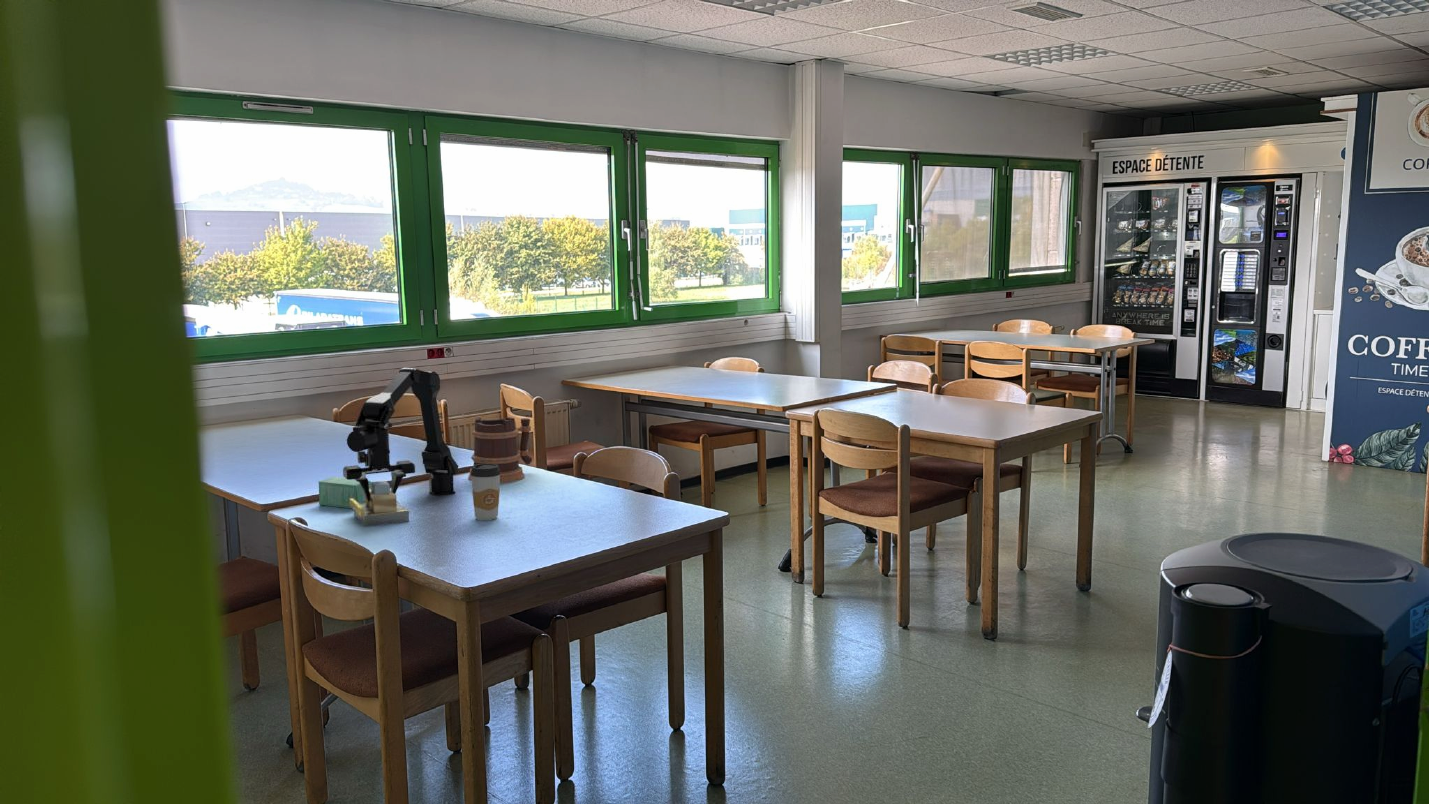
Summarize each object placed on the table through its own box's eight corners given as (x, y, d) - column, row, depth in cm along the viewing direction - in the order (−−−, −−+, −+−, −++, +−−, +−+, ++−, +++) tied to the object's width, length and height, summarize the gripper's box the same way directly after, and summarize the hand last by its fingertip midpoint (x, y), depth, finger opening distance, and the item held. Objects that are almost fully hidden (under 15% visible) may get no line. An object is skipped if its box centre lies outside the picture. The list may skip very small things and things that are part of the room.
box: (357, 509, 305) (356, 484, 304) (318, 506, 309) (317, 481, 308) (372, 504, 312) (372, 479, 311) (334, 500, 316) (333, 476, 315)
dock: (396, 510, 305) (395, 493, 304) (409, 521, 293) (408, 503, 292) (350, 515, 298) (349, 498, 297) (361, 527, 286) (360, 509, 286)
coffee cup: (475, 523, 292) (474, 470, 289) (468, 516, 299) (466, 464, 297) (505, 519, 295) (504, 467, 293) (496, 513, 303) (495, 462, 300)
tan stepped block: (365, 504, 298) (365, 489, 298) (386, 502, 302) (386, 487, 301) (374, 513, 289) (374, 497, 289) (396, 510, 292) (396, 495, 292)
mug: (546, 476, 351) (545, 417, 348) (485, 486, 336) (484, 425, 333) (517, 467, 364) (516, 410, 361) (457, 476, 349) (456, 417, 346)
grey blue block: (370, 490, 296) (370, 482, 295) (385, 489, 298) (385, 480, 297) (375, 494, 292) (375, 485, 291) (389, 493, 294) (389, 484, 293)
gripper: (404, 437, 304) (406, 490, 307) (337, 443, 295) (340, 497, 297) (414, 444, 295) (416, 498, 297) (346, 450, 285) (348, 506, 288)
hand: (380, 499), depth 295 cm, fingers open, 6 cm apart
